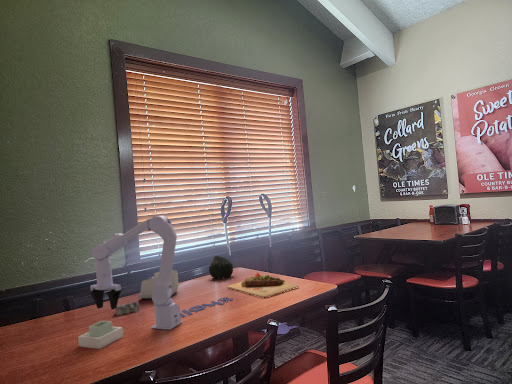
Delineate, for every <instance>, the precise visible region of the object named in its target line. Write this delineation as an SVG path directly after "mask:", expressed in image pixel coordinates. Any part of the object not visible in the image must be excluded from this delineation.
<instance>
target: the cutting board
mask: <svg viewBox="0 0 512 384" xmlns="http://www.w3.org/2000/svg"><path fill="white" fill-rule="evenodd" d="M296 287H298V288H299V285H298V284H295V283H290V282H287V281H285V280H284V279H281V278H279V277H273V276H272V275H271V276H270V275H269V274H267V275H266V274H264V275H261V274H260V273H259V272H256V273H255V275H254V276H250V277H249V278H248V277H246V278H245V279H244V280H243V281H241V282H237V283H233V284H229V285H228V289H229V288H230V289H229V290H232V289H234V290H233V291H235V290H238V291H237V292H239V291H242V292H245V293H244V294H246V293H249V294H252V295H251V296H253V295H256V296H259V297H258V298H260V297H269V296H272V295H275V294H278V293H281V292H284V291H287V290H290V289H293V288H296ZM242 292H241V293H242ZM249 294H248V295H249ZM281 294H282V293H281ZM278 295H279V294H278ZM256 296H255V297H256ZM275 296H276V295H275ZM272 297H273V296H272ZM269 298H270V297H269Z"/></svg>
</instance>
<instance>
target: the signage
mask: <svg viewBox="0 0 512 384" xmlns="http://www.w3.org/2000/svg"><path fill="white" fill-rule="evenodd" d="M225 298H227V299H225ZM222 299H223V300H222ZM225 300H227V301H225ZM231 300H232V301H233V300H234V299H233V298H231V297H228V296H226V297H221V298H218V299H217V302H215V300H213V301H211V303H202V304H201V305H200V304H198V305H196V306H195V305H194V306H192V307H190V308H188V310H186V309H185V308H184V309H182V310H180V318H185V317H187V315H188V316H192V315H194V312H195V313H199V311H203V310H205V309H206V307H210V308H212V306H213V307H215V306H216V305H219V306H224V305H225V304H226V303H229V302H228V301H230V302H232V301H231ZM219 301H221V302H219ZM224 302H226V303H224ZM223 304H224V305H223ZM185 314H186V315H185Z"/></svg>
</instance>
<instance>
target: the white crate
mask: <svg viewBox="0 0 512 384" xmlns="http://www.w3.org/2000/svg"><path fill="white" fill-rule="evenodd" d="M123 330H124V329H123V327H122V326H113V331H112V332H110V333H108V334H106V335H104V336H102V337H100V338H98V337H90V336H89V331H87V332H86V333H82V334H81V335H78V336H77V341H78V347H81V348H89V349H90V348H91V349H98V350H101V349H102V348H104V347H106V346H109V345H110V344H111V343H113V342H116V341H118V340H119V339H121V338H123V337H124V331H123Z"/></svg>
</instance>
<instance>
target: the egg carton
mask: <svg viewBox="0 0 512 384" xmlns="http://www.w3.org/2000/svg"><path fill="white" fill-rule="evenodd" d="M114 310H115V313H116V316H122V315H125V314H131V313H135V312H136V313H137V312H138V311H140V303H139V301H138V300H136V301H134V302H131V303H130V302H128V303H125V304H117V308H115V309H114Z"/></svg>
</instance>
